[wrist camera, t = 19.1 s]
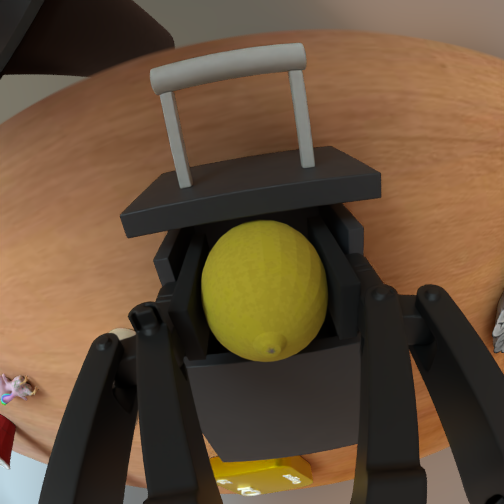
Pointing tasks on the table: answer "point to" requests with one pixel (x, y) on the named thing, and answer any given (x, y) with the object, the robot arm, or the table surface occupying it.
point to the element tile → (262, 475)
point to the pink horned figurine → (14, 388)
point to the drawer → (247, 174)
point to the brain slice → (499, 327)
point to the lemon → (264, 291)
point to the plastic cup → (6, 441)
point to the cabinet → (279, 401)
